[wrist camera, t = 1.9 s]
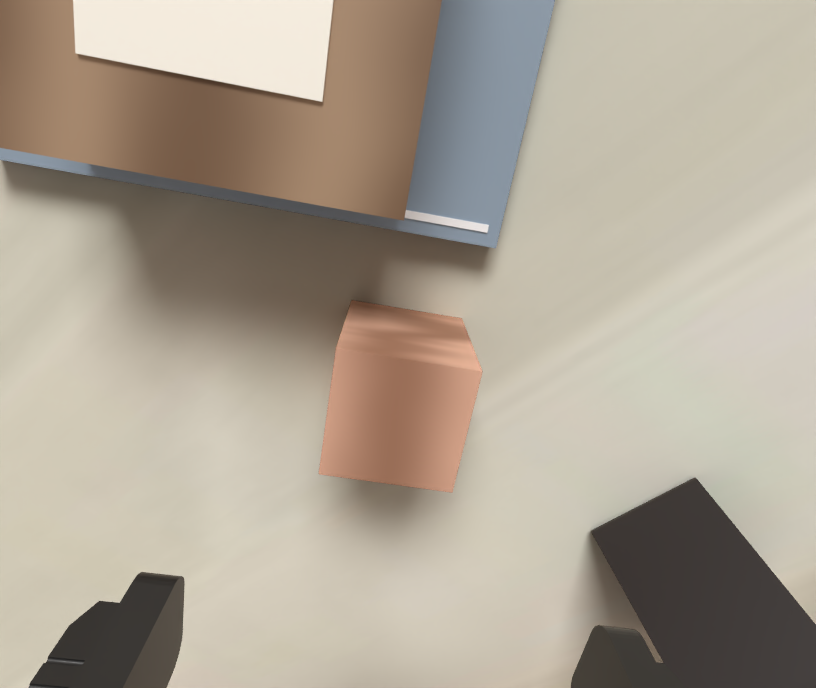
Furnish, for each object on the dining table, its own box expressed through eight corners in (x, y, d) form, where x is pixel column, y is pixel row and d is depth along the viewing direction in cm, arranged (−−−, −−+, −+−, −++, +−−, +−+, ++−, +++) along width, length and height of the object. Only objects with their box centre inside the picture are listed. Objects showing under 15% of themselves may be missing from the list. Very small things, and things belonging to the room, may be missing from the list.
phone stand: (589, 527, 27) (725, 794, 16) (694, 474, 26) (922, 719, 15) (656, 629, 30) (814, 919, 18) (754, 585, 28) (985, 864, 17)
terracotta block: (461, 318, 23) (482, 371, 17) (439, 415, 24) (452, 492, 19) (351, 299, 22) (335, 348, 17) (337, 399, 24) (318, 473, 18)
